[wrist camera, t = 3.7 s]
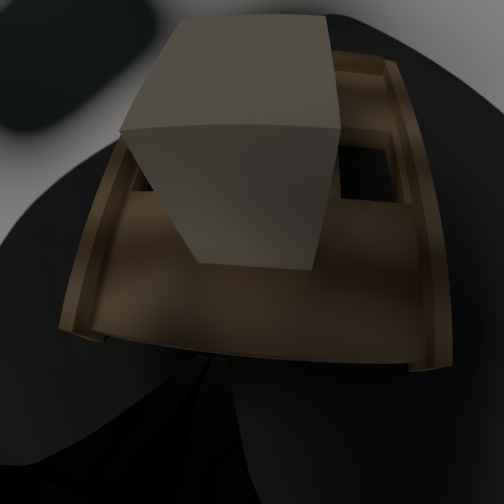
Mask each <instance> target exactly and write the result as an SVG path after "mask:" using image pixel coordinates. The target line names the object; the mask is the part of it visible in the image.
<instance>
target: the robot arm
mask: <svg viewBox="0 0 504 504" xmlns="http://www.w3.org/2000/svg"><path fill="white" fill-rule="evenodd" d="M0 504H261V503H260V500H259V498H258V495H257V493H256V491H255V488H254V485H253V483H252V480H251V477H250V474H249V471H248V467H247V463H246V459H245V455H244V450H243V446H242V441H241V436H240V431H239V425H238V420H237V415H236V410H235V404H234V399H233V393H232V388H231V382H230V376H229V371H228V365H227V360H226V359H221V358H210V357H205V356H197V357H195V358H194V359H193V360H191V361H190V362H189V363H188V364H186V365H185V366H184V367H182V368H181V369H180V370H178V371H177V372H176V373H175V374H173V375H172V376H171V377H169V378H168V379H167V380H165V381H164V382H163V383H161V384H160V385H159V386H157V387H156V388H155V389H153V390H152V391H151V392H149V393H148V394H147V395H145V396H144V397H143V398H141V399H140V400H139V401H137V402H136V403H135V404H133V405H132V406H131V407H129V408H128V409H127V410H125V411H124V412H122V413H121V414H120V415H118V416H117V417H116V418H115V419H113V420H111V421H110V422H108V423H107V424H106V425H104V426H103V427H101V428H100V429H98V430H97V431H95V432H94V433H92V434H91V435H89V436H87V437H85V438H84V439H82V440H80V441H79V442H77V443H75V444H73V445H71V446H69V447H67V448H65V449H64V450H62V451H60V452H58V453H56V454H54V455H52V456H50V457H48V458H46V459H44V460H42V461H40V462H37V463H34V464H30V465H24V466H13V465H0Z"/></svg>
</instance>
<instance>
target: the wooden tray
mask: <svg viewBox="0 0 504 504" xmlns="http://www.w3.org/2000/svg"><path fill="white" fill-rule="evenodd" d="M331 53H332V59H333V66H334V73H335V81H336V88H337V96H338V105H339V114H340V123H341V132H340V138H339V143H338V145H340V146H351V147H361V148H370V149H379V150H385V151H386V157H387V163H388V169H389V175H390V182H391V189H392V196H393V203H389V202H378V201H367V200H356V199H343V198H341V192H340V172H339V155H338V149H337V154H336V160H335V165H334V170H333V175H332V180H331V185H330V190H329V195H328V200H327V205H326V210H325V214H324V219H323V223H322V228H321V233H320V237H319V241H318V246H317V250H316V254H315V259H314V263H313V267H312V270H298V269H282V268H267V267H252V266H238V265H223V264H209V263H198V262H197V260H196V259H195V257H194V256H193V254H192V253H191V251H190V249H189V248H188V246H187V245H186V243H185V241H184V240H183V238H182V237H181V235H180V233H179V232H178V230H177V228H176V227H175V225H174V224H173V222H172V220H171V219H170V217H169V215H168V214H167V212H166V210H165V209H164V207H163V205H162V204H161V202H160V200H159V199H158V197H157V195H156V194H155V192H154V191H147V189H148V186H149V182H148V180H147V178H146V177H145V175H144V173H143V172H142V170H141V168H140V166H139V165H138V163H137V161H136V160H135V158H134V156H133V154H132V153H131V151H130V149H129V147H128V145H127V144H126V142H125V140H124V138H123V137H122V135H120V138H119V140H118V142H117V144H116V147H115V149H114V151H113V154H112V156H111V158H110V161H109V163H108V166H107V168H106V171H105V173H104V176H103V178H102V181H101V183H100V186H99V189H98V191H97V194H96V197H95V199H94V202H93V205H92V208H91V211H90V214H89V216H88V219H87V222H86V225H85V229H84V232H83V235H82V238H81V241H80V244H79V248H78V251H77V255H76V258H75V262H74V265H73V269H72V272H71V276H70V280H69V284H68V288H67V292H66V296H65V300H64V305H63V309H62V314H61V318H60V323H59V328H58V329H61V330H64V331H66V332H69V333H72V334H75V335H78V336H80V337H83V338H86V339H89V340H93V341H97V342H102V343H104V337H105V335H107V336H111V337H116V338H122V339H127V340H132V341H137V342H143V343H149V344H155V345H161V346H167V347H173V348H180V349H187V350H194V351H201V352H209V353H217V354H226V355H235V356H244V357H254V358H266V359H278V360H292V361H309V362H331V363H409V372H415V371H427V370H433V369H438V368H444V367H449V366H452V364H453V343H452V314H451V298H450V286H449V275H448V266H447V258H446V250H445V243H444V236H443V230H442V224H441V218H440V213H439V207H438V202H437V197H436V193H435V188H434V183H433V179H432V175H431V170H430V166H429V162H428V159H427V155H426V151H425V147H424V144H423V140H422V137H421V133H420V130H419V127H418V123H417V120H416V117H415V114H414V111H413V108H412V105H411V102H410V99H409V96H408V93H407V90H406V88H405V85H404V82H403V80H402V77H401V74H400V72H399V69H398V67H397V64H396V62H394V61H388V60H384V58H383V57H381V56H374V55H367V54H360V53H352V52H343V51H332V50H331Z"/></svg>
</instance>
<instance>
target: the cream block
mask: <svg viewBox="0 0 504 504" xmlns="http://www.w3.org/2000/svg"><path fill="white" fill-rule="evenodd" d="M119 131H120V133H121V135H122V137H123V138H124V140H125V142H126V144H127V145H128V147H129V149H130V151H131V153H132V154H133V156H134V158H135V160H136V161H137V163H138V165H139V166H140V168H141V170H142V172H143V173H144V175H145V177H146V178H147V180H148V182H149V184H150V185H151V187H152V189H153V190H154V192H155V194H156V195H157V197H158V199H159V200H160V202H161V204H162V205H163V207H164V209H165V210H166V212H167V214H168V215H169V217H170V219H171V220H172V222H173V224H174V225H175V227H176V228H177V230H178V232H179V233H180V235H181V237H182V238H183V240H184V241H185V243H186V245H187V246H188V248H189V249H190V251H191V253H192V254H193V256H194V257H195V259H196V260H197V262H198V263H209V264H223V265H238V266H252V267H267V268H282V269H298V270H312V267H313V263H314V259H315V254H316V250H317V246H318V241H319V237H320V233H321V228H322V223H323V219H324V214H325V210H326V205H327V200H328V195H329V190H330V185H331V180H332V175H333V170H334V165H335V160H336V154H337V149H338V143H339V138H340V132H341V123H340V114H339V105H338V96H337V88H336V81H335V73H334V66H333V59H332V53H331V47H330V41H329V35H328V29H327V23H326V18H325V16H313V15H293V14H252V15H231V16H217V17H206V18H198V19H189V20H181V22H180V23H179V24H178V26H177V27H176V29H175V30H174V32H173V34H172V35H171V37H170V38H169V40H168V42H167V43H166V45H165V46H164V48H163V50H162V51H161V53H160V55H159V56H158V58H157V60H156V61H155V63H154V65H153V67H152V68H151V70H150V72H149V74H148V75H147V77H146V79H145V81H144V83H143V85H142V87H141V88H140V90H139V92H138V94H137V96H136V98H135V100H134V102H133V103H132V105H131V107H130V109H129V111H128V113H127V115H126V118H125V120H124V122H123V124H122V126H121V128H120V130H119Z"/></svg>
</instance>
